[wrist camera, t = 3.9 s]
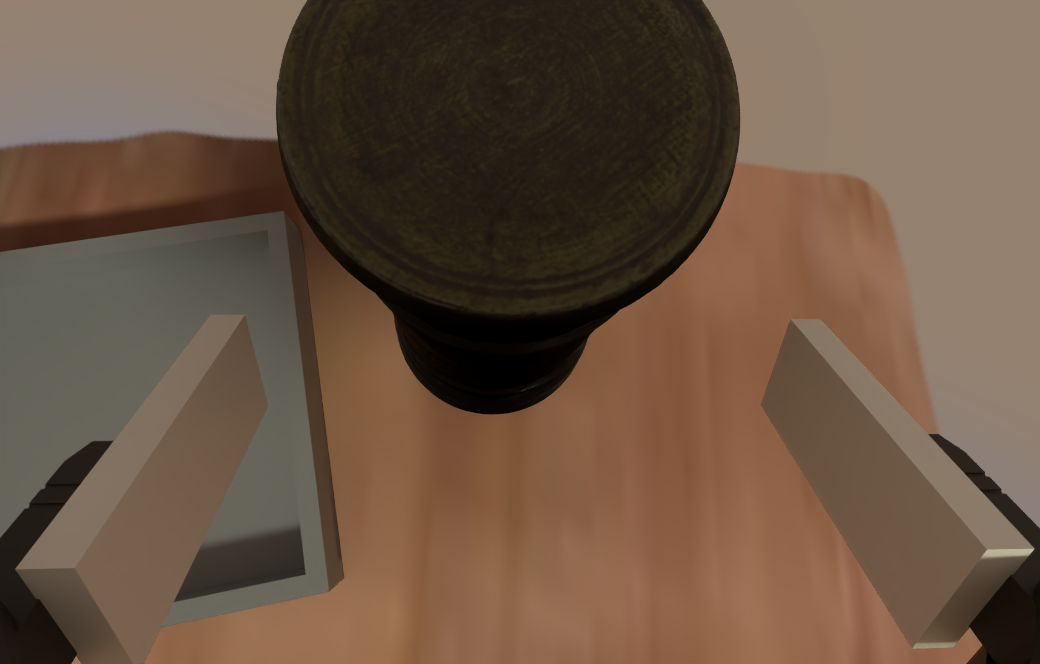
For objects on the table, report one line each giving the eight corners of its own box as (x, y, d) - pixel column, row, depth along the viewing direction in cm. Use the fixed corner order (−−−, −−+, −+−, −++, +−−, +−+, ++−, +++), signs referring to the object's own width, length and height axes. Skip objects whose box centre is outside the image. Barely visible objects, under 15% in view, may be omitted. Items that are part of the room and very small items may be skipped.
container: (461, 199, 29) (432, -202, 11) (617, 291, 28) (843, 25, 11) (359, 350, 27) (128, 156, 9) (524, 451, 26) (612, 449, 9)
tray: (-59, 663, 23) (-123, 688, 21) (-58, 285, 26) (-114, 268, 24) (343, 577, 25) (329, 591, 22) (300, 232, 28) (283, 210, 25)
